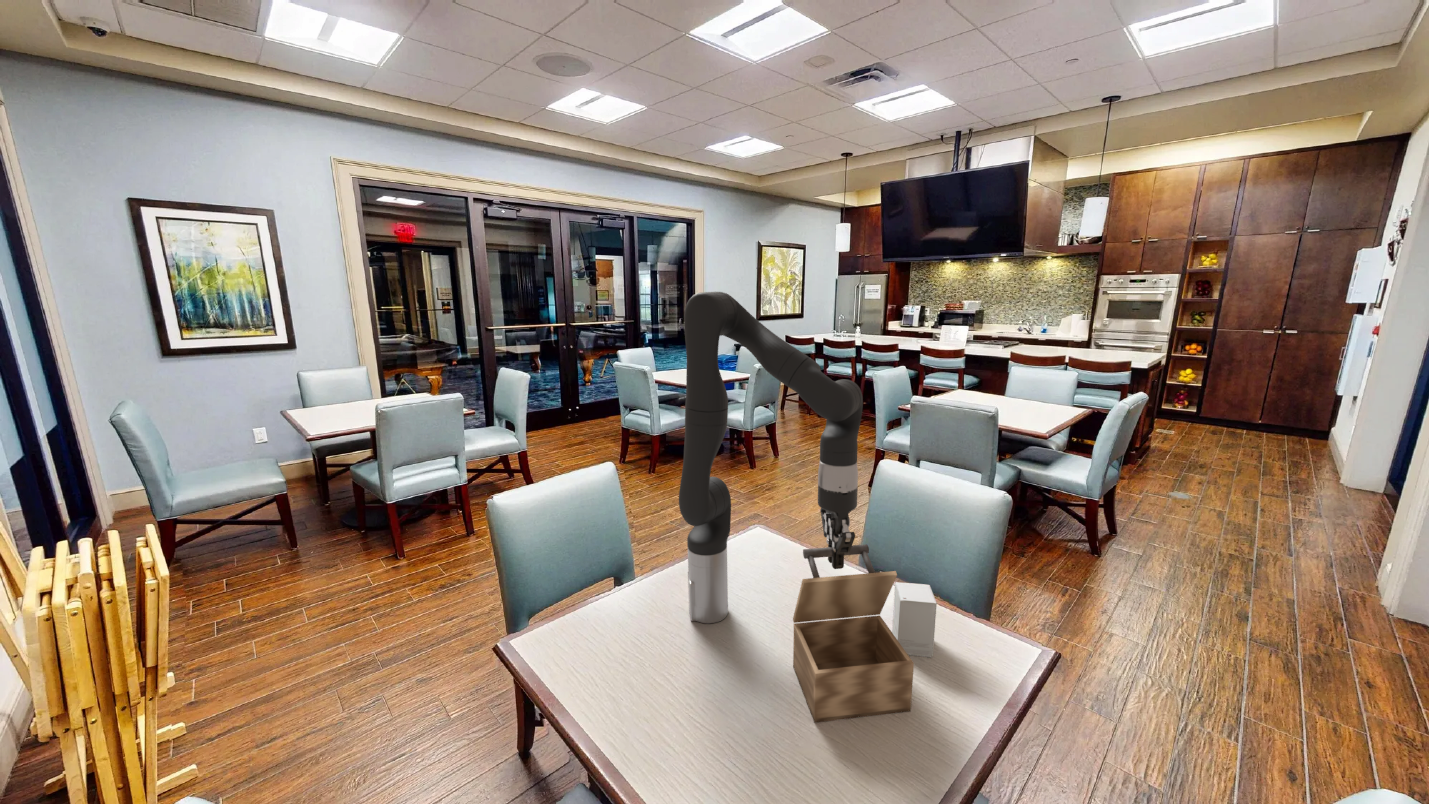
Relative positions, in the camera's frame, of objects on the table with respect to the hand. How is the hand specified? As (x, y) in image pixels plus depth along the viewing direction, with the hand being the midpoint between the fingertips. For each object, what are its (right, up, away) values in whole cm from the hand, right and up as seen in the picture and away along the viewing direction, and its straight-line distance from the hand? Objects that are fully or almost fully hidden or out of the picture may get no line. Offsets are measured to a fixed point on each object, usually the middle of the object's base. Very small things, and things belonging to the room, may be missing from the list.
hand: (835, 564), depth 104 cm
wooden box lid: (+1, -6, -4) cm, 7 cm away
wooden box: (+1, -22, -4) cm, 23 cm away
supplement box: (+18, -20, +8) cm, 28 cm away
